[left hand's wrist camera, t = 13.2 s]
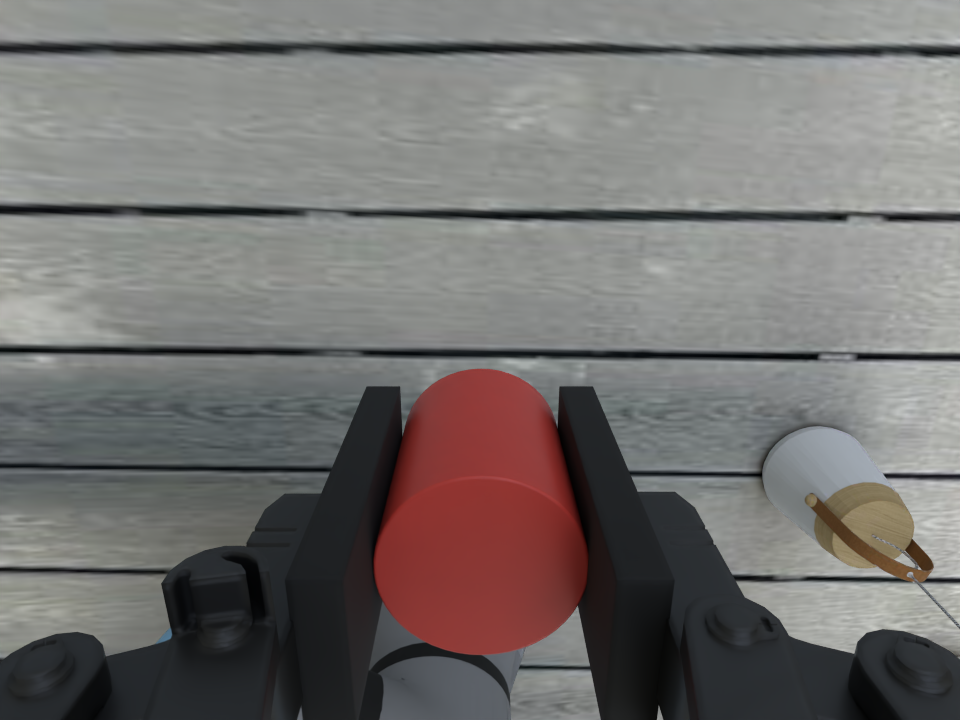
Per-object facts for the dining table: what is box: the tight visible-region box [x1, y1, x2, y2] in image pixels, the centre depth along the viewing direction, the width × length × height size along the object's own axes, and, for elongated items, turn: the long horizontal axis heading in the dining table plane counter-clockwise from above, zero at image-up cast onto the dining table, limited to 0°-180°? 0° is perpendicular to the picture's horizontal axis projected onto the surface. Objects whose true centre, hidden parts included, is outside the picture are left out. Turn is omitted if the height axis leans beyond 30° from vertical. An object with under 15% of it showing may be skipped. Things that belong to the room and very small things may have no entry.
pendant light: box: [762, 426, 960, 629], centre depth 38 cm, size 8×8×30 cm
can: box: [373, 369, 588, 655], centre depth 13 cm, size 4×4×5 cm
